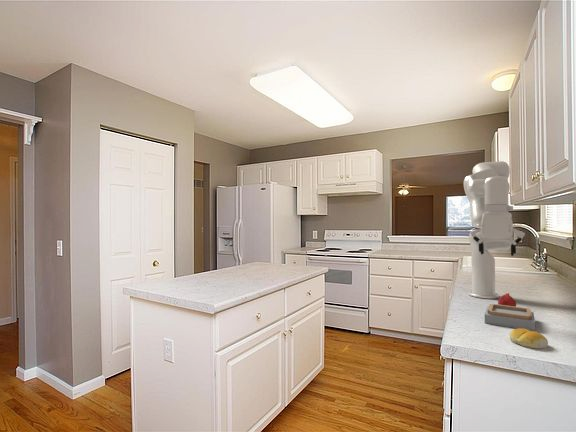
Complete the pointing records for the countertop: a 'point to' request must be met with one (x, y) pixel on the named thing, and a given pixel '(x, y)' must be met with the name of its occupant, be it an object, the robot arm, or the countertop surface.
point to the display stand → (510, 316)
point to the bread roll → (528, 338)
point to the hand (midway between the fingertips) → (496, 254)
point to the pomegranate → (506, 300)
